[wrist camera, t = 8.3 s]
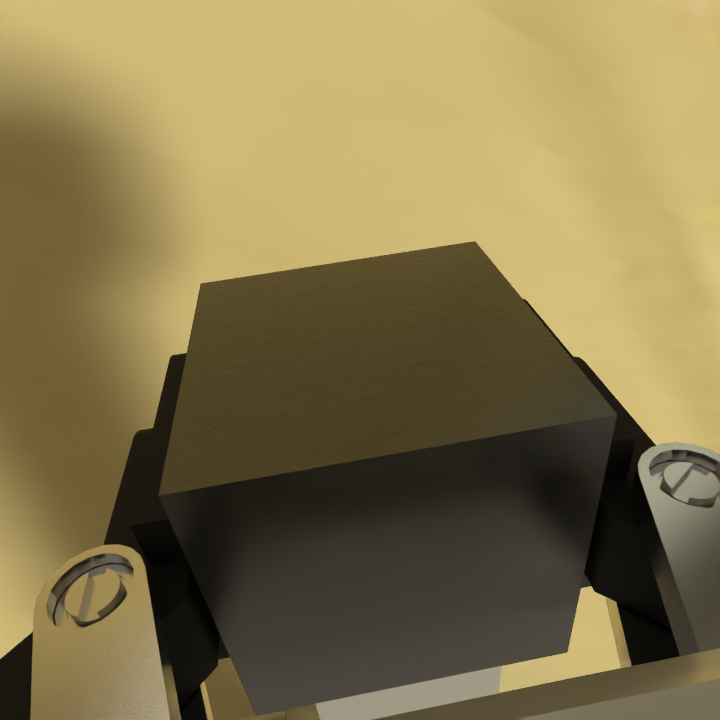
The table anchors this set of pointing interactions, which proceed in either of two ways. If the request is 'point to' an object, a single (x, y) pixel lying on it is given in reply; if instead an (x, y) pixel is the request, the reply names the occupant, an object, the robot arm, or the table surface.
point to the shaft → (383, 480)
